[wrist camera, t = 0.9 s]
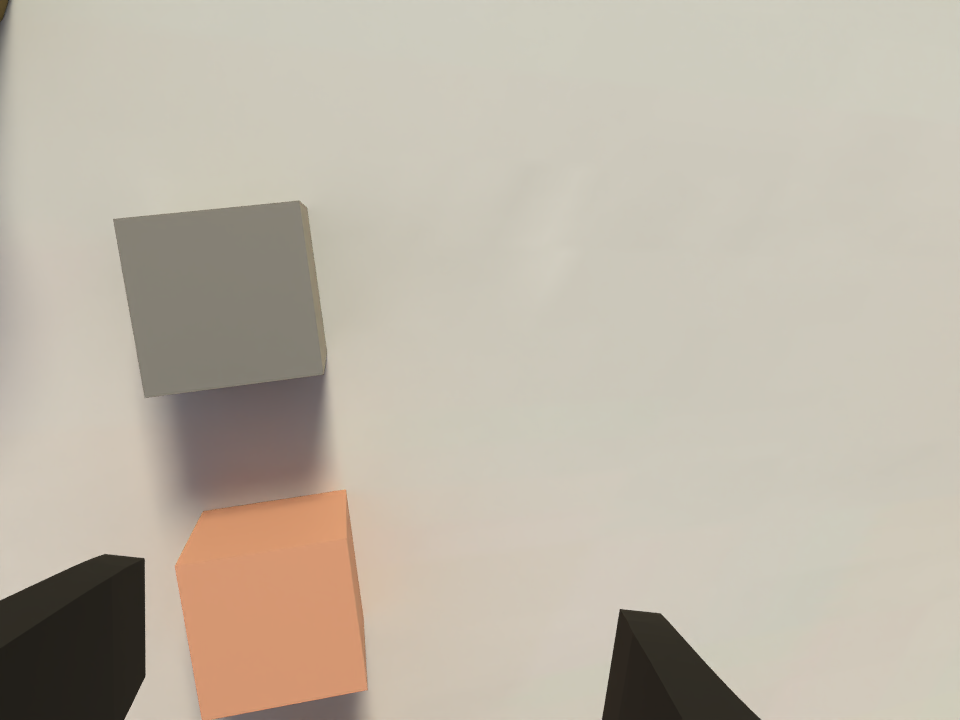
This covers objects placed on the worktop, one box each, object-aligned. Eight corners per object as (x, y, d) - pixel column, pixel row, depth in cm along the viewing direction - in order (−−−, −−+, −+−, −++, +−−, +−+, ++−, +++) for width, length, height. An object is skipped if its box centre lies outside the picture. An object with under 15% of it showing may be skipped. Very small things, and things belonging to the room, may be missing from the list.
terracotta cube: (363, 617, 27) (367, 689, 23) (225, 641, 26) (202, 721, 22) (346, 488, 26) (346, 538, 22) (203, 510, 26) (174, 566, 21)
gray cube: (327, 351, 26) (323, 374, 21) (180, 370, 25) (144, 397, 20) (307, 207, 25) (299, 200, 20) (154, 223, 24) (113, 219, 20)
